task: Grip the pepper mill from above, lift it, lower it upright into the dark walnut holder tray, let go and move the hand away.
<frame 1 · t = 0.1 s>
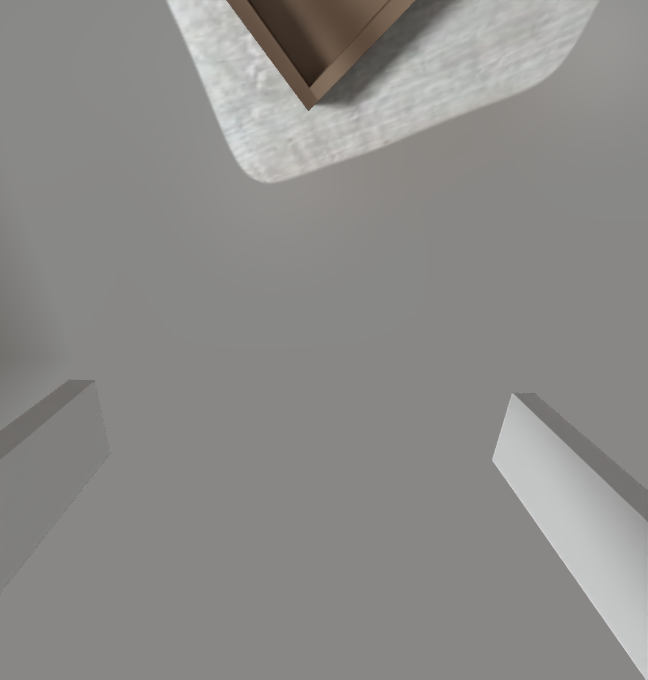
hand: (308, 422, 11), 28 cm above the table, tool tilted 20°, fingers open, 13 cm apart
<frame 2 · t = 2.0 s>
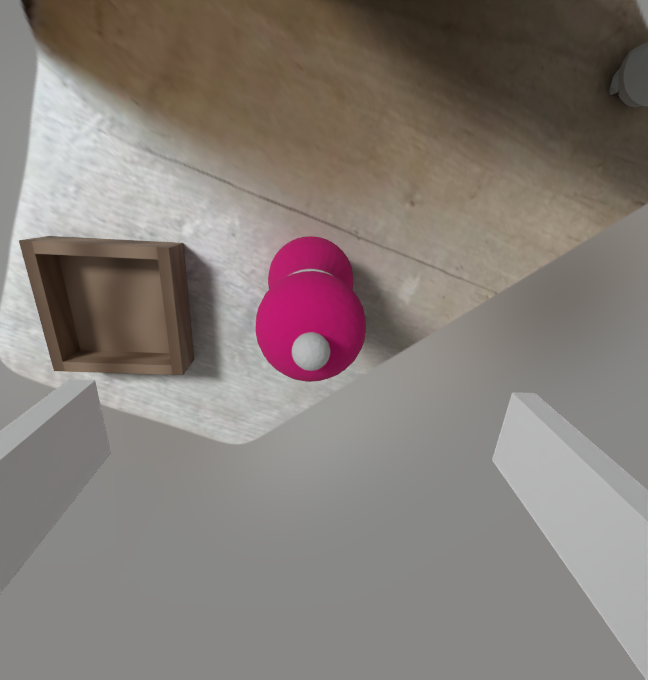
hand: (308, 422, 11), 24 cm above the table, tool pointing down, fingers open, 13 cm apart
figurine: (630, 81, 29), on the table
holder tray: (126, 302, 34), on the table
pepper mill: (310, 270, 34), on the table
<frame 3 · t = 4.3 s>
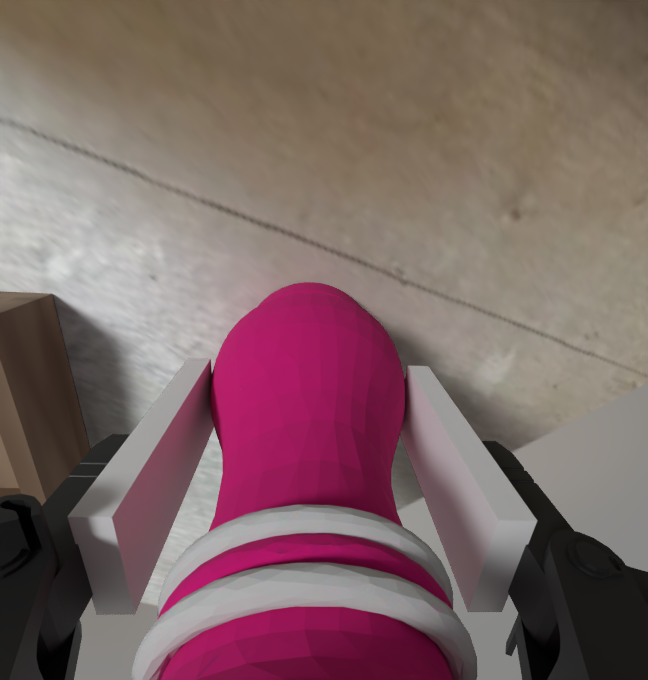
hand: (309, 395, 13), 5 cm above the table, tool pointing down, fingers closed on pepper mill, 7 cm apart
pepper mill: (309, 341, 18), on the table, touching gripper
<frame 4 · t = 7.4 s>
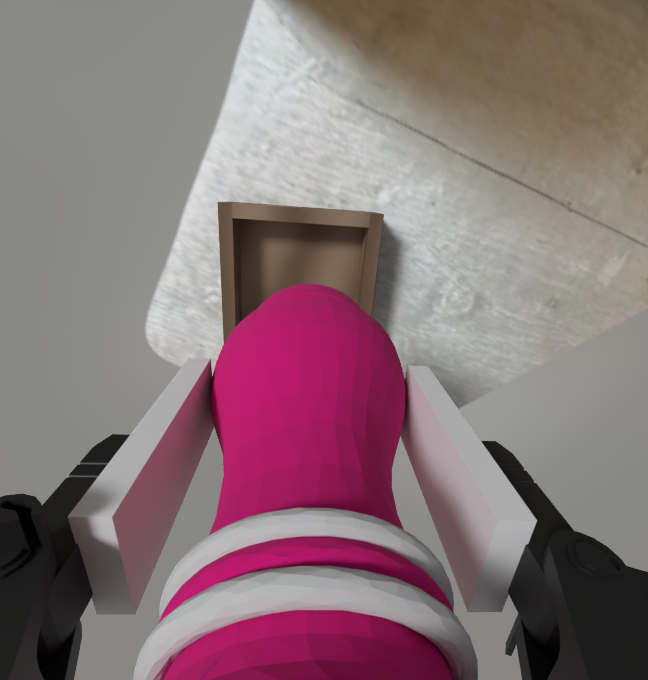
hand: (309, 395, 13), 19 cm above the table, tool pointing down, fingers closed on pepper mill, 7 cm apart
holder tray: (299, 279, 31), on the table
pepper mill: (309, 342, 18), point 14 cm above the table, touching gripper
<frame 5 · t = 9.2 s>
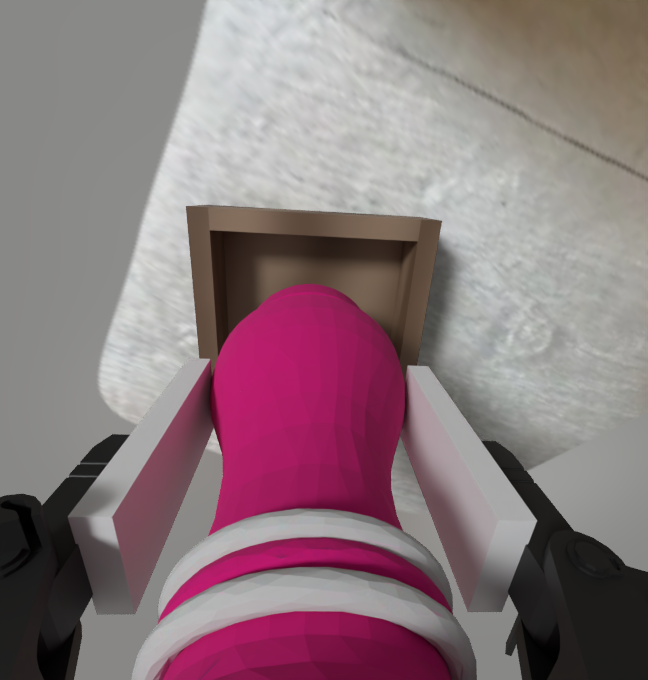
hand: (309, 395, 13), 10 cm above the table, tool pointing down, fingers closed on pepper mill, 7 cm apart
holder tray: (311, 312, 22), on the table
pepper mill: (309, 342, 18), point 4 cm above the table, touching gripper
when the fingers open (8 cm above the table, at t = 10.5 s): pepper mill drops 2 cm, resting on holder tray.
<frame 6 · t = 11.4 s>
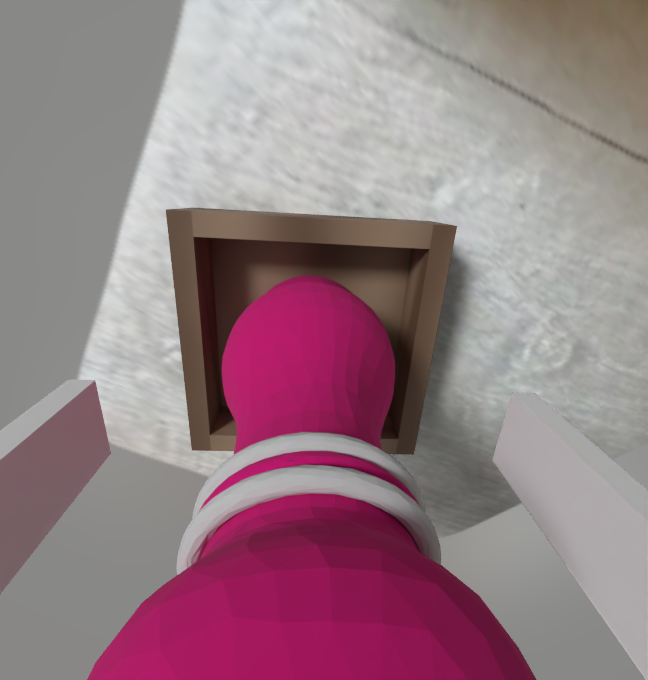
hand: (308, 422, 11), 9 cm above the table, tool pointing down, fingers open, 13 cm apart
holder tray: (309, 326, 20), on the table
pepper mill: (309, 330, 19), point 1 cm above the table, touching holder tray
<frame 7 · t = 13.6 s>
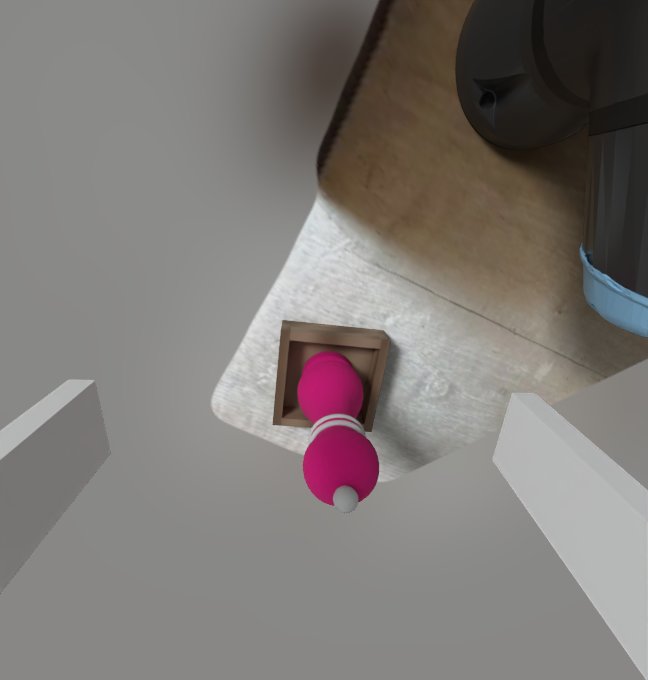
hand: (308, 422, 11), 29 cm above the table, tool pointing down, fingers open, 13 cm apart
holder tray: (327, 370, 43), on the table
pepper mill: (327, 373, 42), point 1 cm above the table, touching holder tray
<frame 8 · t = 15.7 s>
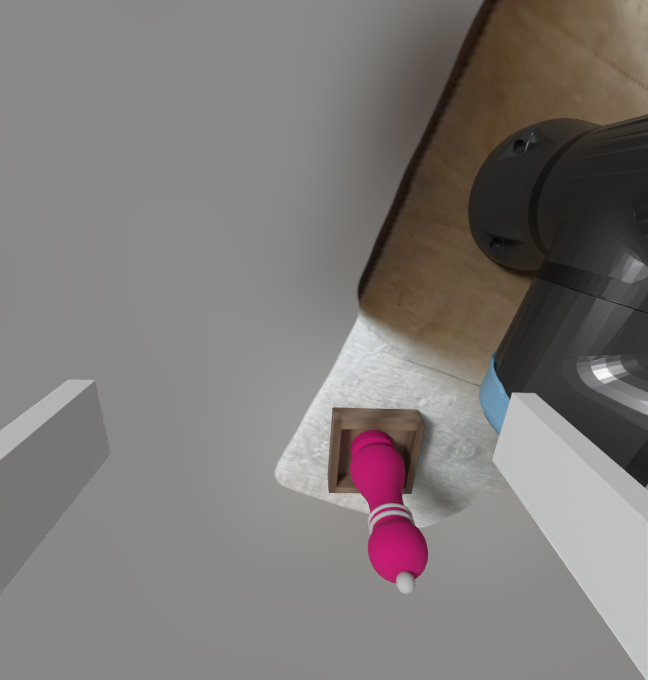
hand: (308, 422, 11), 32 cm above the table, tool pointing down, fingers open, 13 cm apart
holder tray: (370, 443, 51), on the table
pepper mill: (371, 446, 50), point 1 cm above the table, touching holder tray
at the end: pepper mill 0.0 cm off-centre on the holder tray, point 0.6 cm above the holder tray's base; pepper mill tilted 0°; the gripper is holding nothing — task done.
